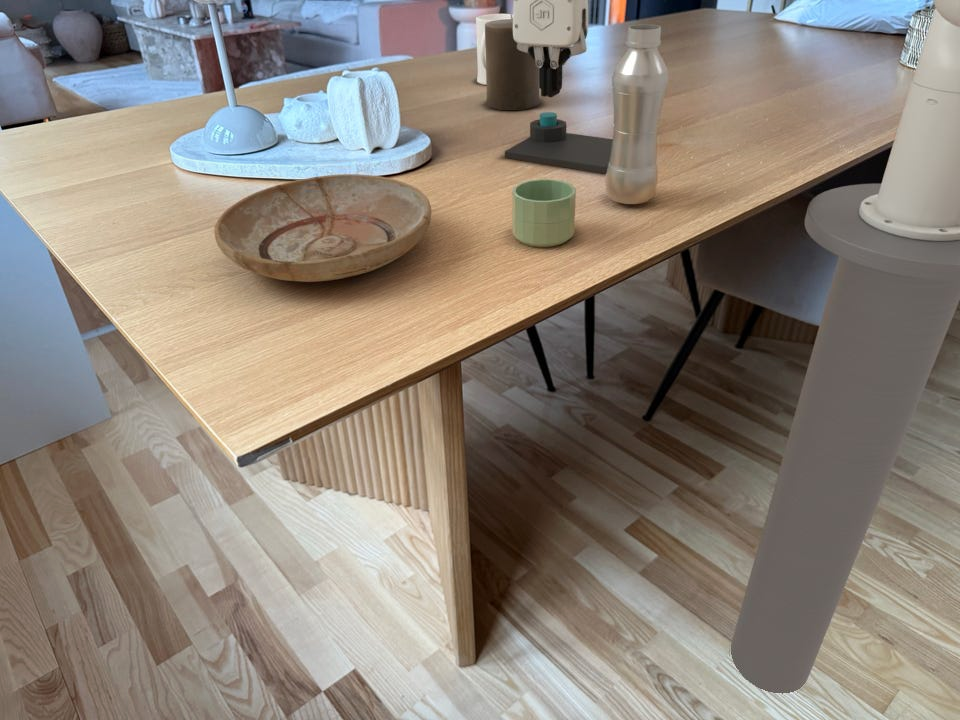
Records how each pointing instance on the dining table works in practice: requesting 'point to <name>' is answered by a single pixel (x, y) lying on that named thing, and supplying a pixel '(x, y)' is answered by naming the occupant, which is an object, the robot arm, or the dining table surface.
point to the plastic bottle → (636, 117)
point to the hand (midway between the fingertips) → (550, 94)
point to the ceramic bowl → (324, 227)
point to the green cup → (543, 212)
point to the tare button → (548, 119)
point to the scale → (563, 148)
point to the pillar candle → (509, 70)
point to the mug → (481, 42)
